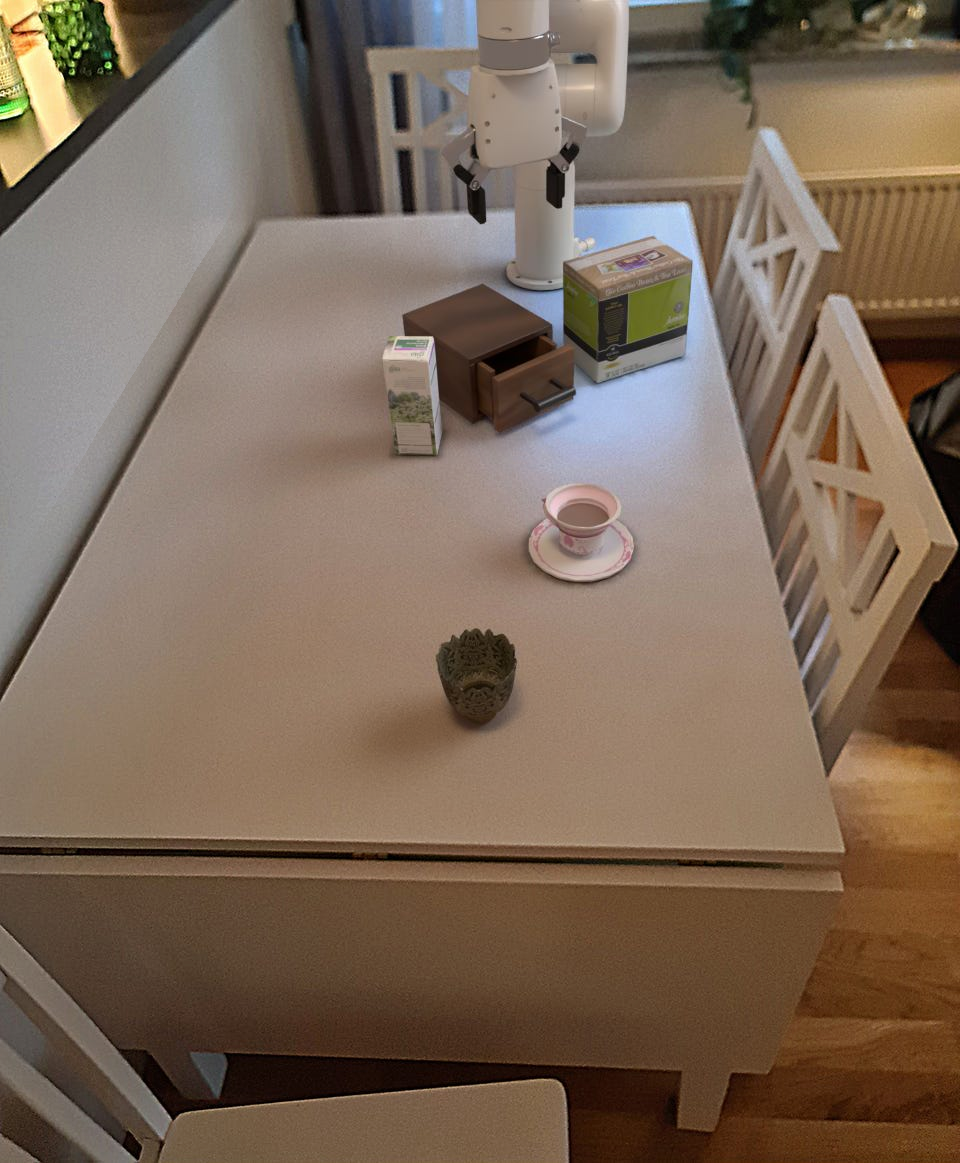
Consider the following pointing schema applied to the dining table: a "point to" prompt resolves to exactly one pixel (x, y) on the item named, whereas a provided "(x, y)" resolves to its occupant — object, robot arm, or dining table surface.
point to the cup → (477, 673)
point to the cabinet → (471, 338)
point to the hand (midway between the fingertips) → (516, 212)
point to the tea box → (626, 307)
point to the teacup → (581, 534)
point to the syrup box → (413, 394)
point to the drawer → (524, 381)
